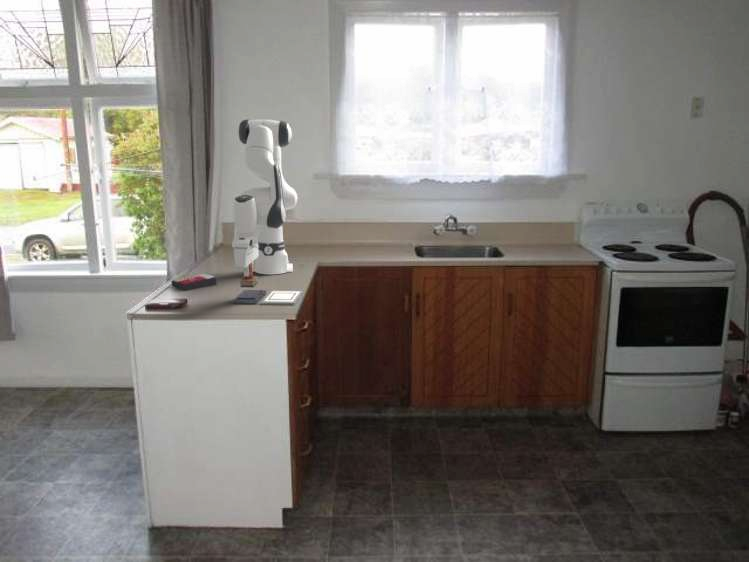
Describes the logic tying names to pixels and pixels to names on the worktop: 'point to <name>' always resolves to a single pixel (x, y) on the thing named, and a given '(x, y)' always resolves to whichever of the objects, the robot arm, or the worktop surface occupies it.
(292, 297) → the board
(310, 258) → the worktop surface
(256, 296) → the ink pad
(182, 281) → the calculator
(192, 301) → the worktop surface
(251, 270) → the stamp
